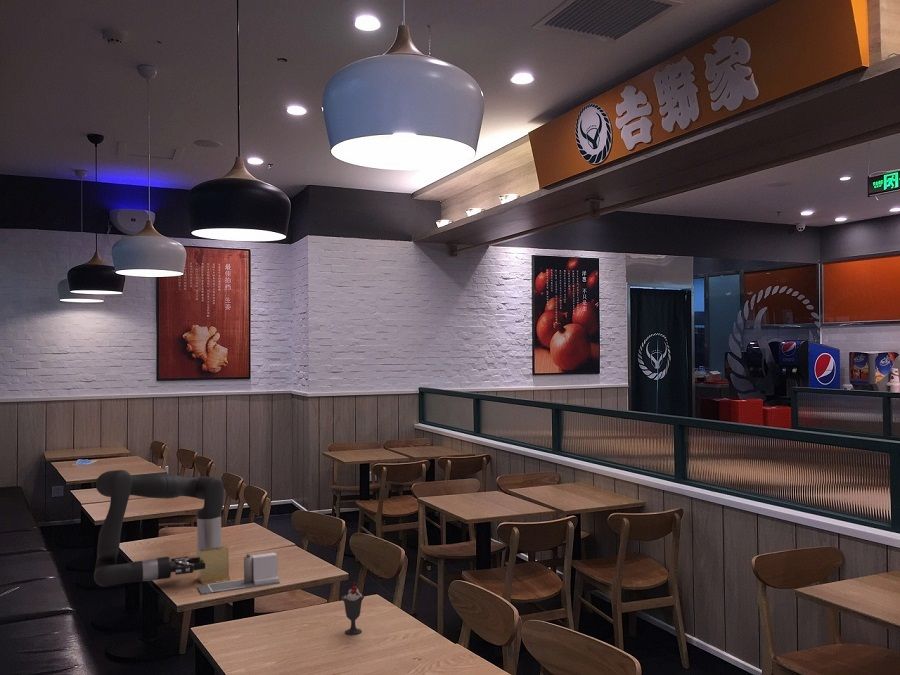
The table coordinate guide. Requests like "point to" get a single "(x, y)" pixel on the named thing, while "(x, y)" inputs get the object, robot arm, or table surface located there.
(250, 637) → the table surface
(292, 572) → the table surface
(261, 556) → the hinge board
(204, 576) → the brass leaf
